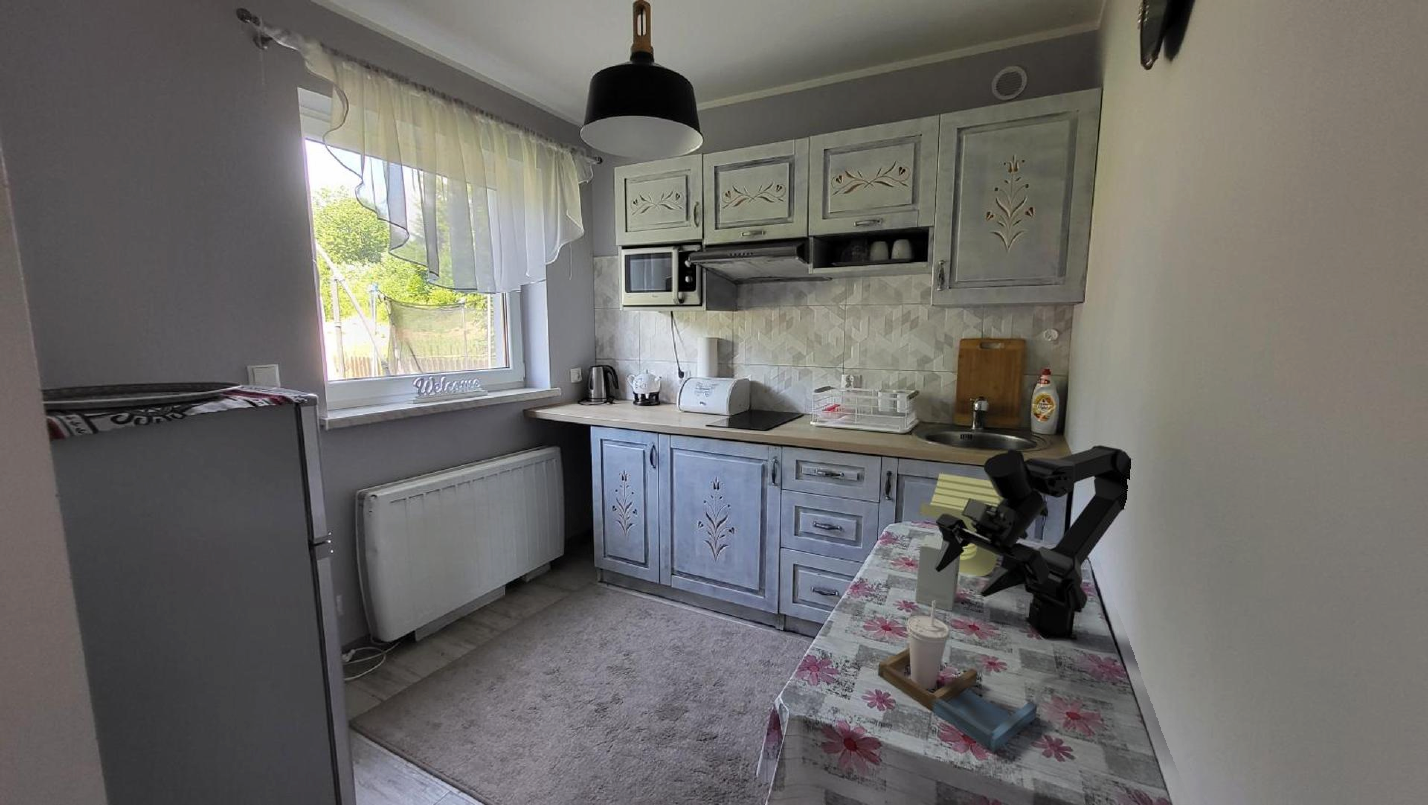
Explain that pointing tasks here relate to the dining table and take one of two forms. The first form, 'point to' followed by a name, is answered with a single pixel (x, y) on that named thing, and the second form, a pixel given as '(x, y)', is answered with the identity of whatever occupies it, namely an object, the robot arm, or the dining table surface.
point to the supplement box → (935, 576)
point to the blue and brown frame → (961, 705)
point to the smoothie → (926, 647)
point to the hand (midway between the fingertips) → (958, 582)
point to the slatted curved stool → (952, 501)
